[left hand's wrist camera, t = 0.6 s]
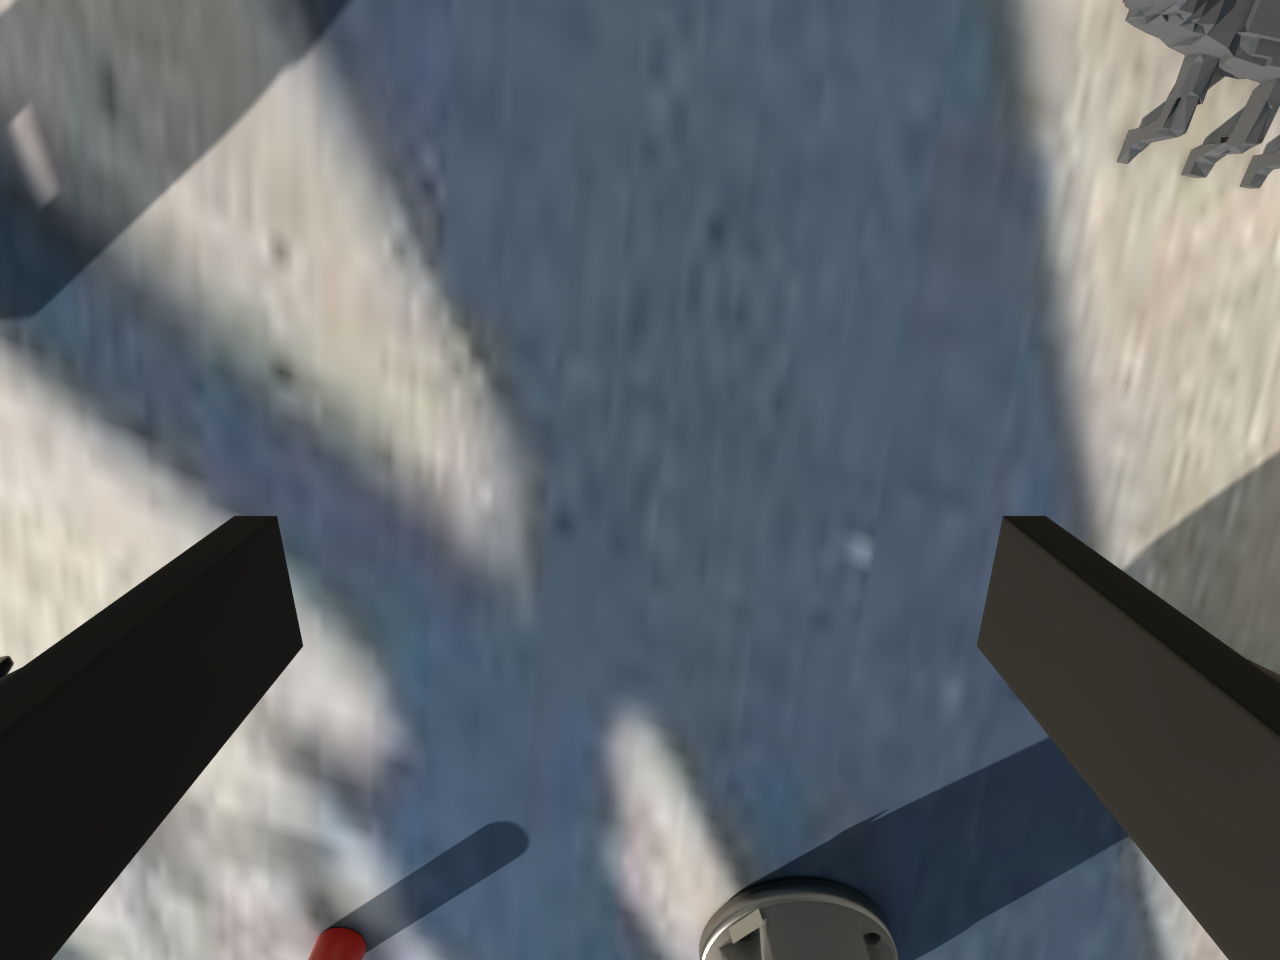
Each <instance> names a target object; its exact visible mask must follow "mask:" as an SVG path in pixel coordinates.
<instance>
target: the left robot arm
mask: <svg viewBox="0 0 1280 960" xmlns="http://www.w3.org/2000/svg"><path fill="white" fill-rule="evenodd" d="M302 647H303V643H302V638H301V633H300V628H299V623H298V618H297V613H296V608H295V603H294V598H293V593H292V588H291V584H290V579H289V574H288V569H287V564H286V559H285V554H284V549H283V544H282V539H281V534H280V529H279V524H278V519H277V516H234V517H232V518H231V519H230V520H228V521H227V522H225V523H224V524H223V525H221V526H220V527H218V528H217V529H216V530H214V531H213V532H211V533H210V534H209V535H207V536H206V537H204V538H203V539H202V540H200V541H199V542H197V543H196V544H195V545H193V546H192V547H190V548H189V549H188V550H186V551H185V552H183V553H182V554H181V555H179V556H178V557H176V558H175V559H174V560H172V561H171V562H169V563H168V564H167V565H165V566H164V567H162V568H161V569H160V570H158V571H157V572H155V573H154V574H153V575H151V576H150V577H148V578H147V579H146V580H144V581H143V582H141V583H140V584H139V585H137V586H136V587H134V588H133V589H132V590H130V591H129V592H127V593H126V594H125V595H123V596H122V597H120V598H119V599H118V600H116V601H115V602H113V603H112V604H111V605H109V606H108V607H106V608H105V609H103V610H102V611H101V612H99V613H98V614H96V615H95V616H94V617H92V618H91V619H89V620H88V621H87V622H85V623H84V624H82V625H81V626H80V627H78V628H77V629H75V630H74V631H73V632H71V633H70V634H68V635H67V636H66V637H64V638H63V639H61V640H60V641H59V642H57V643H56V644H54V645H53V646H52V647H50V648H49V649H47V650H46V651H45V652H43V653H42V654H40V655H39V656H38V657H36V658H35V659H33V660H32V661H31V662H29V663H28V664H26V665H25V666H24V667H22V668H20V669H18V670H16V671H14V672H12V673H10V674H8V675H6V676H3V677H1V678H0V960H51V959H52V958H53V957H54V956H55V954H56V953H57V952H58V951H59V949H60V948H61V947H62V946H63V944H64V943H65V942H66V941H67V939H68V938H69V937H70V936H71V934H72V933H73V932H74V931H75V929H76V928H77V927H78V926H79V925H80V923H81V922H82V921H83V920H84V918H85V917H86V916H87V915H88V913H89V912H90V911H91V910H92V908H93V907H94V906H95V905H96V903H97V902H98V901H99V900H100V898H101V897H102V896H103V895H104V893H105V892H106V891H107V890H108V888H109V887H110V886H111V885H112V883H113V882H114V881H115V880H116V878H117V877H118V876H119V875H120V873H121V872H122V871H123V870H124V868H125V867H126V866H127V865H128V863H129V862H130V861H131V860H132V859H133V857H134V856H135V855H136V854H137V852H138V851H139V850H140V849H141V847H142V846H143V845H144V844H145V842H146V841H147V840H148V839H149V837H150V836H151V835H152V834H153V832H154V831H155V830H156V829H157V827H158V826H159V825H160V824H161V822H162V821H163V820H164V819H165V817H166V816H167V815H168V814H169V812H170V811H171V810H172V809H173V807H174V806H175V805H176V804H177V802H178V801H179V800H180V799H181V798H182V796H183V795H184V794H185V793H186V791H187V790H188V789H189V788H190V786H191V785H192V784H193V783H194V781H195V780H196V779H197V778H198V776H199V775H200V774H201V773H202V771H203V770H204V769H205V768H206V766H207V765H208V764H209V763H210V761H211V760H212V759H213V758H214V756H215V755H216V754H217V753H218V751H219V750H220V749H221V748H222V746H223V745H224V744H225V743H226V741H227V740H228V739H229V738H230V737H231V735H232V734H233V733H234V732H235V730H236V729H237V728H238V727H239V725H240V724H241V723H242V722H243V720H244V719H245V718H246V717H247V715H248V714H249V713H250V712H251V710H252V709H253V708H254V707H255V705H256V704H257V703H258V702H259V700H260V699H261V698H262V697H263V695H264V694H265V693H266V692H267V690H268V689H269V688H270V687H271V685H272V684H273V683H274V682H275V680H276V679H277V678H278V677H279V676H280V674H281V673H282V672H283V671H284V669H285V668H286V667H287V666H288V664H289V663H290V662H291V661H292V659H293V658H294V657H295V656H296V654H297V653H298V652H299V651H300V649H301V648H302ZM977 647H978V648H979V649H980V651H981V652H982V653H983V654H984V656H985V657H986V658H987V659H988V661H989V662H990V663H991V664H992V666H993V667H994V668H995V669H996V671H997V672H998V673H999V674H1000V676H1001V677H1002V678H1003V679H1004V680H1005V682H1006V683H1007V684H1008V685H1009V687H1010V688H1011V689H1012V690H1013V692H1014V693H1015V694H1016V695H1017V697H1018V698H1019V699H1020V700H1021V702H1022V703H1023V704H1024V705H1025V707H1026V708H1027V709H1028V710H1029V712H1030V713H1031V714H1032V715H1033V717H1034V718H1035V719H1036V720H1037V722H1038V723H1039V724H1040V725H1041V727H1042V728H1043V729H1044V730H1045V732H1046V733H1047V734H1048V735H1049V737H1050V738H1051V739H1052V740H1053V741H1054V743H1055V744H1056V745H1057V746H1058V748H1059V749H1060V750H1061V751H1062V753H1063V754H1064V755H1065V756H1066V758H1067V759H1068V760H1069V761H1070V763H1071V764H1072V765H1073V766H1074V768H1075V769H1076V770H1077V771H1078V773H1079V774H1080V775H1081V776H1082V778H1083V779H1084V780H1085V781H1086V783H1087V784H1088V785H1089V786H1090V788H1091V789H1092V790H1093V791H1094V793H1095V794H1096V795H1097V796H1098V798H1099V799H1100V800H1101V801H1102V802H1103V804H1104V805H1105V806H1106V807H1107V809H1108V810H1109V811H1110V812H1111V814H1112V815H1113V816H1114V817H1115V819H1116V820H1117V821H1118V822H1119V824H1120V825H1121V826H1122V827H1123V829H1124V830H1125V831H1126V832H1127V834H1128V835H1129V836H1130V837H1131V839H1132V840H1133V841H1134V842H1135V844H1136V845H1137V846H1138V847H1139V849H1140V850H1141V851H1142V852H1143V854H1144V855H1145V856H1146V857H1147V859H1148V860H1149V861H1150V862H1151V864H1152V865H1153V866H1154V867H1155V868H1156V870H1157V871H1158V872H1159V873H1160V875H1161V876H1162V877H1163V878H1164V880H1165V881H1166V882H1167V883H1168V885H1169V886H1170V887H1171V888H1172V890H1173V891H1174V892H1175V893H1176V895H1177V896H1178V897H1179V898H1180V900H1181V901H1182V902H1183V903H1184V905H1185V906H1186V907H1187V908H1188V910H1189V911H1190V912H1191V913H1192V915H1193V916H1194V917H1195V918H1196V920H1197V921H1198V922H1199V923H1200V925H1201V926H1202V927H1203V928H1204V929H1205V931H1206V932H1207V933H1208V934H1209V936H1210V937H1211V938H1212V939H1213V941H1214V942H1215V943H1216V944H1217V946H1218V947H1219V948H1220V949H1221V951H1222V952H1223V953H1224V954H1225V956H1226V957H1227V958H1228V959H1229V960H1280V675H1279V674H1277V673H1275V672H1273V671H1270V670H1268V669H1266V668H1264V667H1262V666H1260V665H1258V664H1256V663H1254V662H1252V661H1250V660H1247V659H1245V658H1244V657H1242V656H1241V655H1240V654H1238V653H1237V652H1235V651H1234V650H1233V649H1231V648H1230V647H1228V646H1227V645H1226V644H1224V643H1223V642H1221V641H1220V640H1219V639H1217V638H1216V637H1214V636H1213V635H1212V634H1210V633H1209V632H1207V631H1206V630H1205V629H1203V628H1202V627H1200V626H1199V625H1198V624H1196V623H1195V622H1193V621H1192V620H1191V619H1189V618H1188V617H1186V616H1185V615H1184V614H1182V613H1181V612H1179V611H1178V610H1177V609H1175V608H1174V607H1172V606H1171V605H1169V604H1168V603H1167V602H1165V601H1164V600H1162V599H1161V598H1160V597H1158V596H1157V595H1155V594H1154V593H1153V592H1151V591H1150V590H1148V589H1147V588H1146V587H1144V586H1143V585H1141V584H1140V583H1139V582H1137V581H1136V580H1134V579H1133V578H1132V577H1130V576H1129V575H1127V574H1126V573H1125V572H1123V571H1122V570H1120V569H1119V568H1118V567H1116V566H1115V565H1113V564H1112V563H1111V562H1109V561H1108V560H1106V559H1105V558H1104V557H1102V556H1101V555H1099V554H1098V553H1097V552H1095V551H1094V550H1092V549H1091V548H1090V547H1088V546H1087V545H1085V544H1084V543H1083V542H1081V541H1080V540H1078V539H1077V538H1076V537H1074V536H1073V535H1071V534H1070V533H1069V532H1067V531H1066V530H1064V529H1063V528H1062V527H1060V526H1059V525H1057V524H1056V523H1055V522H1053V521H1052V520H1050V519H1049V518H1048V517H1046V516H1003V519H1002V524H1001V529H1000V534H999V539H998V544H997V549H996V554H995V559H994V564H993V569H992V574H991V579H990V584H989V588H988V593H987V598H986V603H985V608H984V613H983V618H982V623H981V628H980V633H979V638H978V643H977ZM699 955H700V960H898V954H897V950H896V946H895V944H894V941H893V938H892V935H891V932H890V929H889V927H888V924H887V922H886V919H885V917H884V916H883V914H882V912H881V911H880V910H879V909H878V907H877V906H876V905H875V904H874V903H873V902H872V901H870V900H869V899H868V898H867V897H865V896H864V895H862V894H861V893H859V892H857V891H855V890H853V889H851V888H849V887H846V886H844V885H840V884H837V883H834V882H829V881H824V880H817V879H788V880H781V881H775V882H770V883H766V884H763V885H760V886H757V887H754V888H752V889H749V890H747V891H745V892H743V893H741V894H739V895H737V896H736V897H734V898H732V899H731V900H729V901H728V902H727V903H725V904H724V905H723V906H722V907H721V908H719V910H718V911H717V912H716V913H715V914H714V915H713V916H712V917H711V919H710V920H709V922H708V923H707V925H706V926H705V929H704V931H703V933H702V936H701V940H700V946H699Z"/></svg>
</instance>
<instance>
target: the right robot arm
mask: <svg viewBox="0 0 1280 960" xmlns="http://www.w3.org/2000/svg"><path fill="white" fill-rule="evenodd" d="M13 664H14V662H13V661H12V659H11V657H10V656H3V657H0V678H1V677H3V676H6V675H7V674H8V672H9V671H10V669H11V668H12V666H13Z"/></svg>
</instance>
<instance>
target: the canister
mask: <svg viewBox="0 0 1280 960" xmlns="http://www.w3.org/2000/svg"><path fill="white" fill-rule="evenodd" d="M365 951H366V943H365V941H364V939H363V938H362V937H361V936H360V935H359V934H358V933H356V932H355V931H353V930H350V929H347V928H339V927H338V928H330V929H327V930H325V931H324V932H322V933H321V934H320V935H319V937H318V939H317V941H316V944H315V946H314V948H313V950H312V952H311V955H310V957H309V959H308V960H362V959H363V956H364V954H365Z"/></svg>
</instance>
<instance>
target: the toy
mask: <svg viewBox="0 0 1280 960" xmlns="http://www.w3.org/2000/svg"><path fill="white" fill-rule="evenodd" d="M1123 3H1125V6H1126V7H1128V8H1129V12H1128V15H1127V17H1126V20H1125V21H1127V22H1128V23H1130V24H1131V25H1133V26H1134V27H1136V28H1138V29H1140V30H1142V31H1144V32H1146V33H1148V34H1150V35H1152V36H1155V37H1157V38H1160V39H1161V40H1162V41H1163V42H1164V43H1165V44H1166V45H1167V46H1168V47H1170V48H1172V49H1174V50H1176V51H1178V52H1180V53H1182V54H1184V55H1185V58H1184V61H1183V64H1182V66H1181V69H1180V72H1179V75H1178V78H1177V81H1176V83H1175V85H1174V87H1173V89H1172V91H1171V92H1170V94H1169V96H1168V98H1167V100H1166V103H1165V105H1164V107H1163V110H1162V112H1161V114H1160V116H1159V119H1157V120H1155V121H1154V122H1152V123H1150V124H1149V125H1147V126H1146V127H1142V128H1137V129H1133V130H1129V131H1128V134H1127V136H1126V139H1125V142H1124V144H1123V147H1122V149H1121V152H1120V155H1119V157H1118V160H1117V162H1120V163H1125V164H1128V163H1129V162H1130V161H1131V160H1132V159H1133V158H1134V157H1135V156H1136V155H1137V154H1139V153H1140V152H1141V151H1142V149H1143V148H1144V147H1145V145H1146V144H1147V143H1151V142H1156V141H1161V140H1166V139H1171V138H1176V137H1179V136H1181V135H1183V134H1185V133H1186V132H1187V129H1188V127H1189V124H1190V122H1191V119H1192V116H1193V114H1194V111H1195V109H1196V106H1197V105H1198V104H1203V101H1204V98H1205V95H1206V93H1207V90H1208V87H1209V84H1210V82H1211V79H1212V76H1213V73H1215V74H1219V75H1223V76H1227V77H1232V78H1236V79H1250V80H1253V81H1256V82H1259V83H1261V84H1260V85H1259V86H1258V87H1256V88H1255V89H1254V90H1253V92H1252V94H1251V96H1250V98H1249V100H1248V102H1247V104H1246V106H1245V108H1244V110H1243V112H1242V114H1241V116H1240V118H1239V120H1238V122H1237V124H1236V126H1235V128H1234V129H1233V131H1232V133H1231V135H1227V136H1221V143H1214V144H1203V145H1200V146H1198V147H1196V148H1194V149H1193V150H1191V152H1190V155H1189V157H1188V160H1187V162H1186V164H1185V167H1184V169H1183V172H1182V174H1181V175H1184V176H1189V177H1194V178H1204V177H1207V175H1208V174H1209V172H1210V170H1211V169H1212V167H1213V166H1214V164H1215V163H1216V161H1217V160H1218V158H1220V157H1222V156H1224V155H1226V154H1241V153H1244V152H1245V151H1247V150H1248V149H1250V148H1252V147H1254V146H1256V145H1258V144H1260V143H1262V142H1263V140H1264V137H1265V135H1266V133H1267V131H1268V129H1269V127H1270V125H1271V123H1272V121H1273V119H1274V117H1275V114H1276V112H1277V110H1278V108H1279V106H1280V0H1123ZM1278 168H1280V150H1278V151H1276V152H1274V153H1267V154H1261V155H1255V156H1253V158H1252V160H1251V162H1250V164H1249V167H1248V169H1247V171H1246V173H1245V176H1244V178H1243V180H1242V182H1241V185H1240V187H1244V188H1249V189H1254V188H1260V187H1261V185H1262V184H1263V182H1264V180H1265V179H1266V177H1267V176H1268V174H1269V173H1270V172H1271V171H1272V170H1273V169H1278Z"/></svg>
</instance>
